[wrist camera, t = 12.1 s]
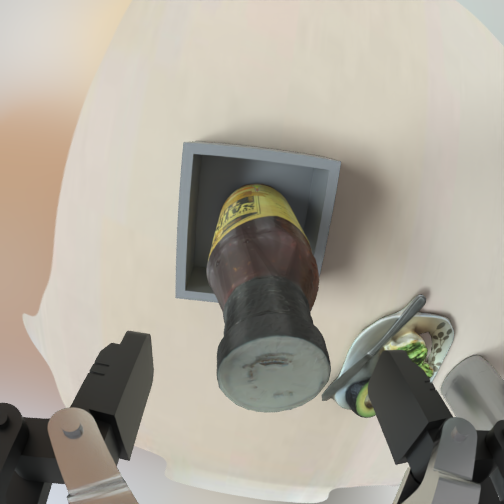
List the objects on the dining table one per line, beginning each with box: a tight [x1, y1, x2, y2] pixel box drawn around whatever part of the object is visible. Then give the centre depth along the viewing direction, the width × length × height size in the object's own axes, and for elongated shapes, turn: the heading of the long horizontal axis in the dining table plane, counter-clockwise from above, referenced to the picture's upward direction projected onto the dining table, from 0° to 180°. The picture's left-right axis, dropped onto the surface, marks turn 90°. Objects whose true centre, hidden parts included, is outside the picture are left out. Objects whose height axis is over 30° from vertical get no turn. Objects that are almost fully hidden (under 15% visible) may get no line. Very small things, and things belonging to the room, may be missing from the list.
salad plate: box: [322, 294, 454, 418], centre depth 34 cm, size 19×18×5 cm
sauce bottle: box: [207, 184, 331, 412], centre depth 19 cm, size 6×6×20 cm
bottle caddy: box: [176, 141, 341, 310], centre depth 26 cm, size 12×13×6 cm
